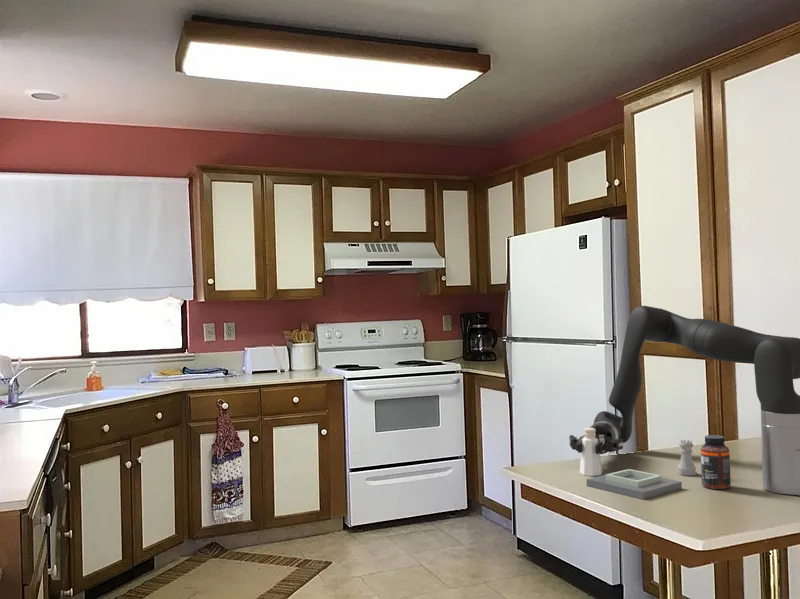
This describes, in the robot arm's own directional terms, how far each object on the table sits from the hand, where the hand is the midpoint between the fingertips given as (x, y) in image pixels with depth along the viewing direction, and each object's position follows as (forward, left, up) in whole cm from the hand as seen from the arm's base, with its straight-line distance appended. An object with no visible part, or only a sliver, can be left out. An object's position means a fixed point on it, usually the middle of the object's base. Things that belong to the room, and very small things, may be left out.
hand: (588, 449), depth 171 cm
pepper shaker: (+1, -2, -7) cm, 7 cm away
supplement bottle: (-25, -13, -7) cm, 29 cm away
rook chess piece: (-14, -19, -7) cm, 25 cm away
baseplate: (-13, +1, -7) cm, 15 cm away
